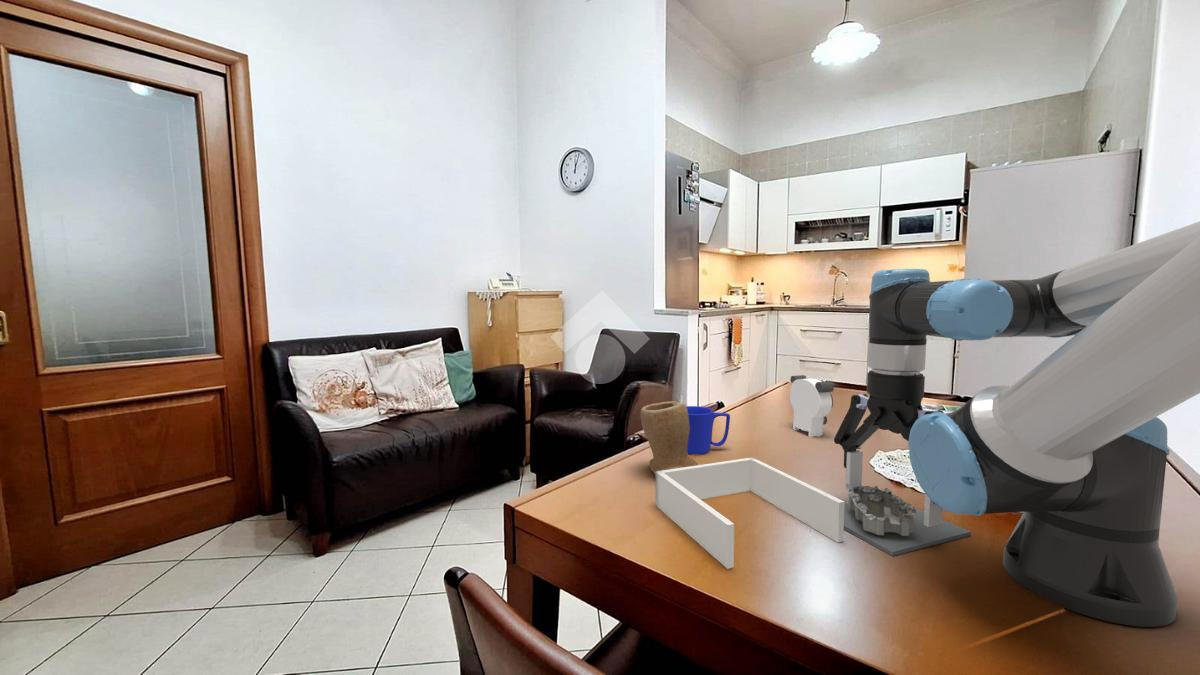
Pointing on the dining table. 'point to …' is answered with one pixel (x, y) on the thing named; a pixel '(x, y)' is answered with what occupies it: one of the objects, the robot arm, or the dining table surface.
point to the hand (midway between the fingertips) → (889, 505)
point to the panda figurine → (810, 403)
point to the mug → (703, 429)
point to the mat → (902, 544)
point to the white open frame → (711, 529)
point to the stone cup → (667, 435)
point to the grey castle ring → (881, 510)
